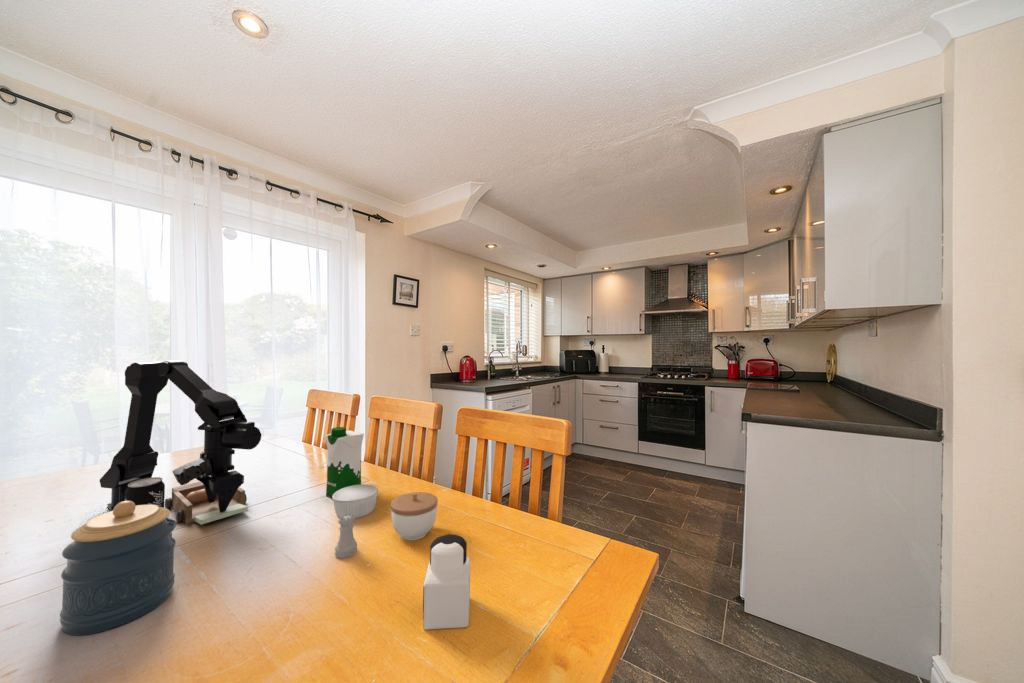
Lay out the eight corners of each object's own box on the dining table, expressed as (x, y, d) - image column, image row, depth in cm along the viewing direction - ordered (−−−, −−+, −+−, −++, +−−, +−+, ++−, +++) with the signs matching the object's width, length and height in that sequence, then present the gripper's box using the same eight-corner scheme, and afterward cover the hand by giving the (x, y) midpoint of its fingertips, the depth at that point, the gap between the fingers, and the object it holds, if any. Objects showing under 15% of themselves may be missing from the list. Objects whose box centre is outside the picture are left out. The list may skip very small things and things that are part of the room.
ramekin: (322, 516, 93) (322, 496, 93) (355, 499, 103) (356, 481, 104) (354, 524, 89) (355, 503, 89) (386, 506, 99) (386, 487, 99)
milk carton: (321, 496, 106) (322, 428, 106) (349, 486, 113) (350, 422, 114) (338, 503, 101) (339, 432, 101) (366, 492, 108) (367, 426, 109)
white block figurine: (429, 599, 63) (430, 530, 63) (469, 596, 63) (470, 528, 64) (422, 631, 56) (423, 553, 56) (468, 628, 56) (469, 551, 57)
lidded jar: (446, 533, 85) (446, 493, 85) (405, 551, 77) (406, 508, 77) (421, 518, 92) (421, 481, 93) (381, 533, 85) (382, 494, 85)
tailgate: (193, 516, 89) (201, 520, 86) (239, 503, 97) (247, 506, 93) (193, 521, 89) (201, 525, 85) (239, 508, 96) (247, 511, 93)
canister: (67, 652, 51) (71, 528, 52) (52, 615, 58) (56, 506, 58) (185, 598, 62) (188, 496, 63) (161, 573, 69) (163, 481, 70)
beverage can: (137, 541, 80) (139, 488, 80) (115, 538, 81) (117, 485, 82) (171, 527, 87) (172, 477, 87) (150, 524, 88) (151, 475, 88)
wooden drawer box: (163, 506, 98) (164, 489, 98) (227, 490, 109) (227, 475, 109) (180, 526, 87) (181, 507, 87) (249, 505, 99) (249, 489, 99)
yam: (184, 504, 97) (184, 492, 97) (220, 494, 104) (220, 483, 104) (187, 507, 95) (187, 495, 95) (224, 497, 102) (224, 485, 102)
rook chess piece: (362, 549, 78) (362, 512, 78) (346, 561, 74) (347, 522, 74) (345, 545, 79) (346, 509, 79) (329, 557, 75) (330, 518, 75)
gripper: (167, 447, 92) (166, 508, 92) (187, 461, 81) (185, 530, 81) (221, 438, 101) (220, 494, 101) (245, 450, 90) (243, 512, 90)
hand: (216, 507), depth 93 cm, fingers open, 9 cm apart
